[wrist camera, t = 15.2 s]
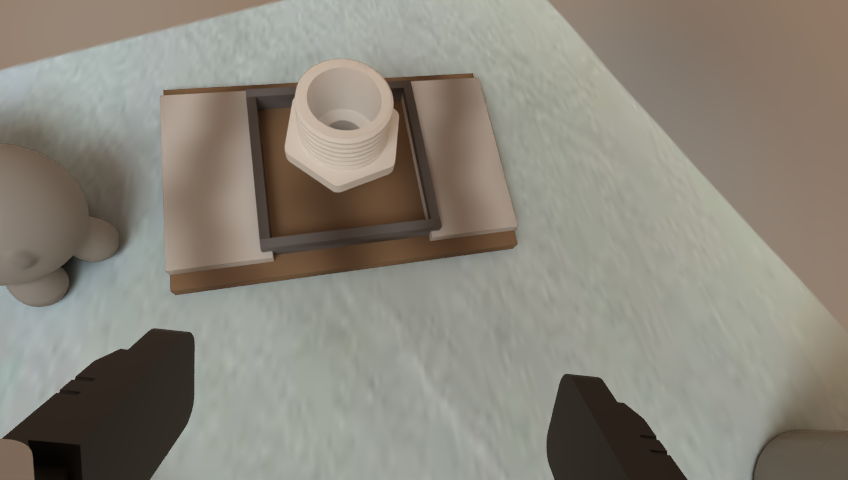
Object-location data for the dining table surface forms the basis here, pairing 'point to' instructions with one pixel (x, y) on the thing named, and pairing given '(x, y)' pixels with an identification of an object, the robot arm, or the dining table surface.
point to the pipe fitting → (342, 125)
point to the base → (324, 188)
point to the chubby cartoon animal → (44, 226)
